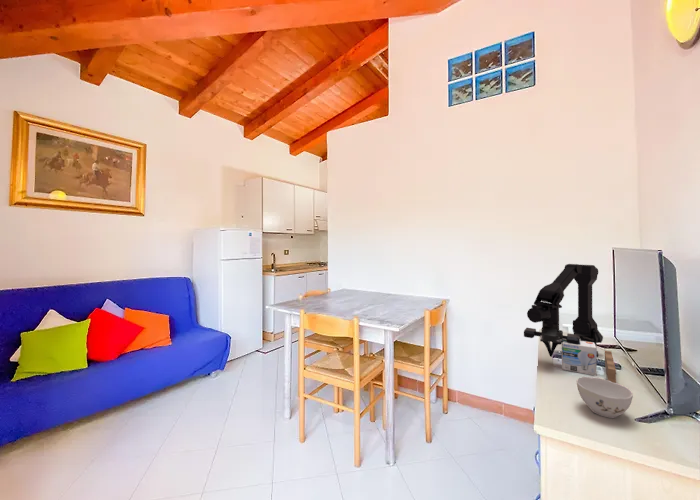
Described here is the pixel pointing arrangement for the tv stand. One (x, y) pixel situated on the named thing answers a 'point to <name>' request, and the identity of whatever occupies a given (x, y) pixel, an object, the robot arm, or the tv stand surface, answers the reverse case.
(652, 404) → the tv stand surface
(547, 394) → the tv stand surface
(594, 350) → the light bulb box
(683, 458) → the tv stand surface
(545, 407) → the tv stand surface
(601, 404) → the white floral bowl
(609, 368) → the walnut plank
